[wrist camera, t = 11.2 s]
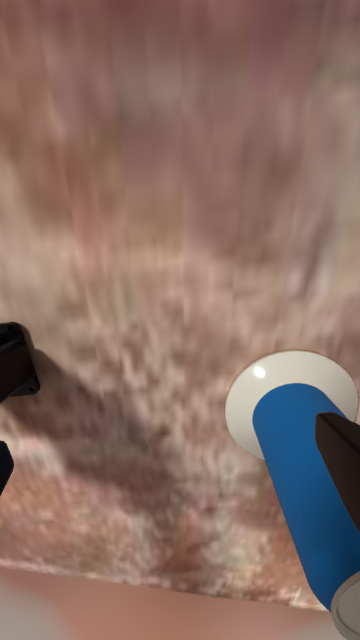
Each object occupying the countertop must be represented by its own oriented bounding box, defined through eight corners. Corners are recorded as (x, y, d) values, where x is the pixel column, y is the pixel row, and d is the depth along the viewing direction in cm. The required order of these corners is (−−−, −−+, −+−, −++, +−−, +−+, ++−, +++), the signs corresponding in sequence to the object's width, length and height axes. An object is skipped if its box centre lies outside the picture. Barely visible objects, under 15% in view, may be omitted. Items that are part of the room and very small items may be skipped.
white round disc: (229, 462, 23) (230, 467, 23) (219, 357, 20) (220, 360, 20) (349, 452, 23) (353, 458, 22) (357, 342, 20) (362, 345, 19)
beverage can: (279, 454, 22) (375, 676, 11) (234, 408, 21) (288, 603, 10) (342, 415, 21) (531, 622, 9) (298, 362, 20) (452, 527, 8)
